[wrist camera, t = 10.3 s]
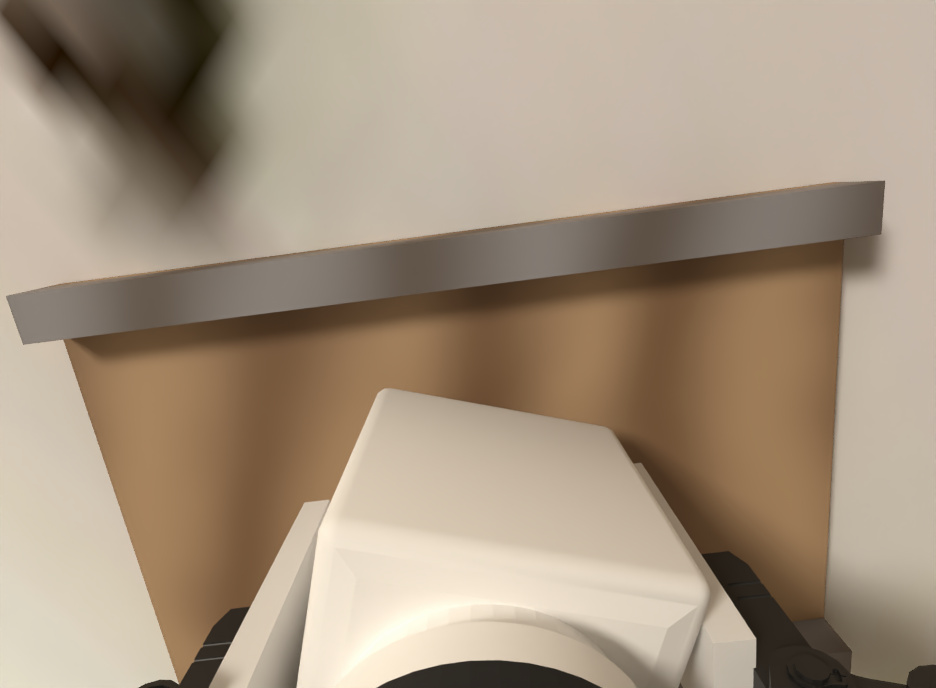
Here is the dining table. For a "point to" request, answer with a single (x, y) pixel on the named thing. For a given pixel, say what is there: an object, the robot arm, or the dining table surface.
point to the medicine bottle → (495, 558)
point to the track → (476, 377)
